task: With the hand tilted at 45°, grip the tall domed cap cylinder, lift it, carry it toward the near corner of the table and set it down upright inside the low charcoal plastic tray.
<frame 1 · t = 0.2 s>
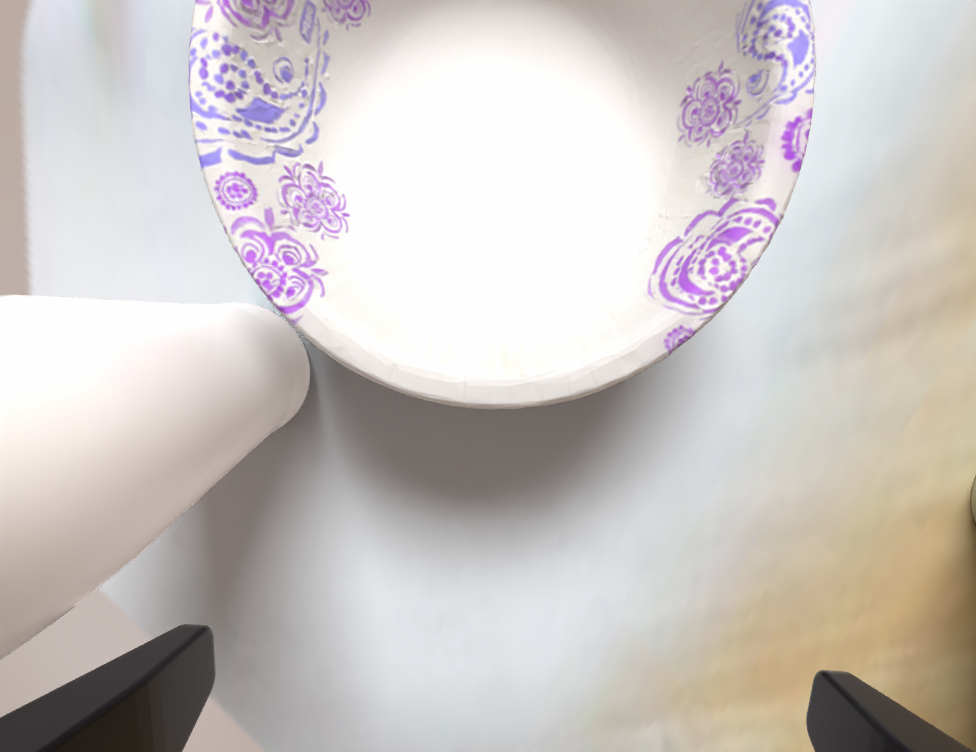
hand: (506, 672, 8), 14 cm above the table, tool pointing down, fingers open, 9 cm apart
white vase: (253, 366, 23), on the table
paper bowls: (502, 165, 21), on the table
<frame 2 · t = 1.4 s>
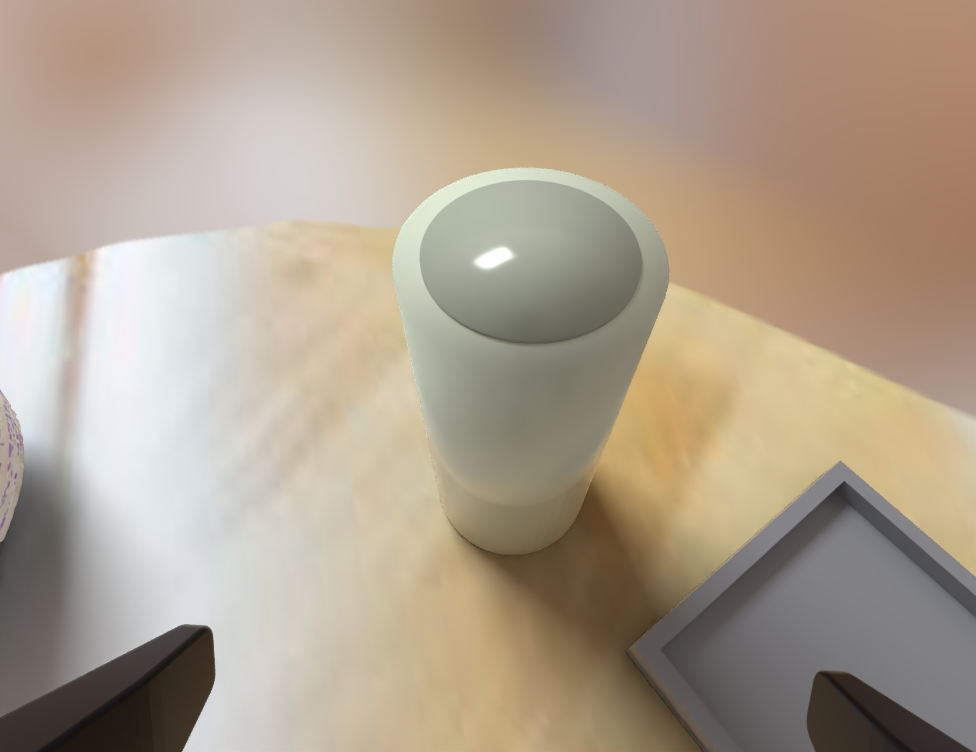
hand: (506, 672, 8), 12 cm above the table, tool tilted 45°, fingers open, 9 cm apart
tray: (859, 691, 19), on the table
domed cap cylinder: (511, 481, 23), on the table
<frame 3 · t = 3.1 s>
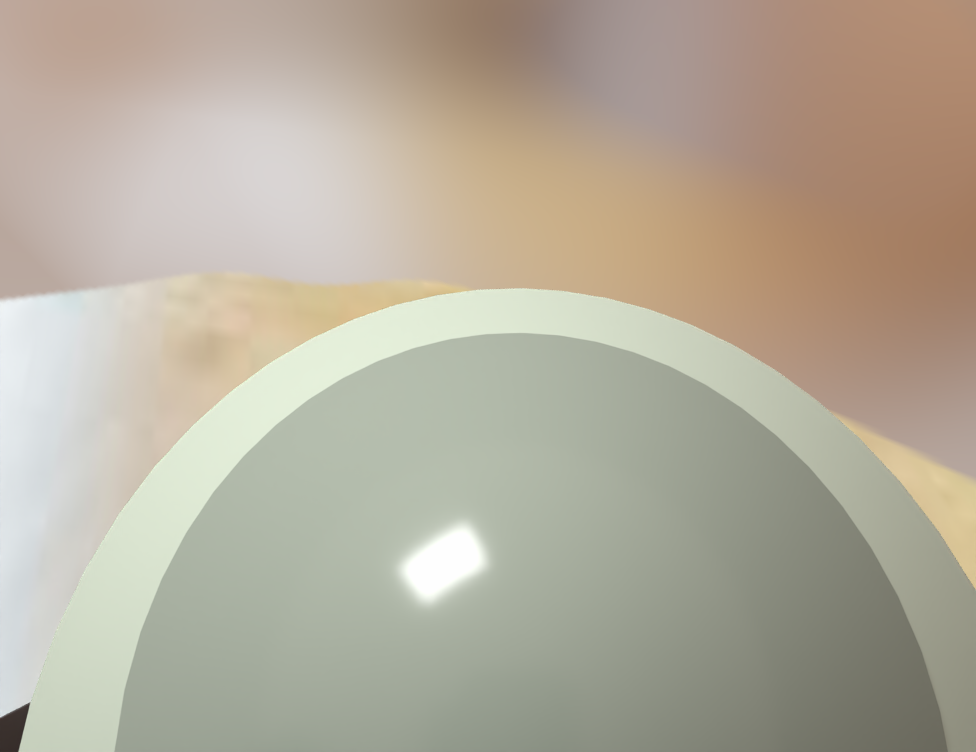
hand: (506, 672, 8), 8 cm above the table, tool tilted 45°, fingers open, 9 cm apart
domed cap cylinder: (498, 719, 14), on the table
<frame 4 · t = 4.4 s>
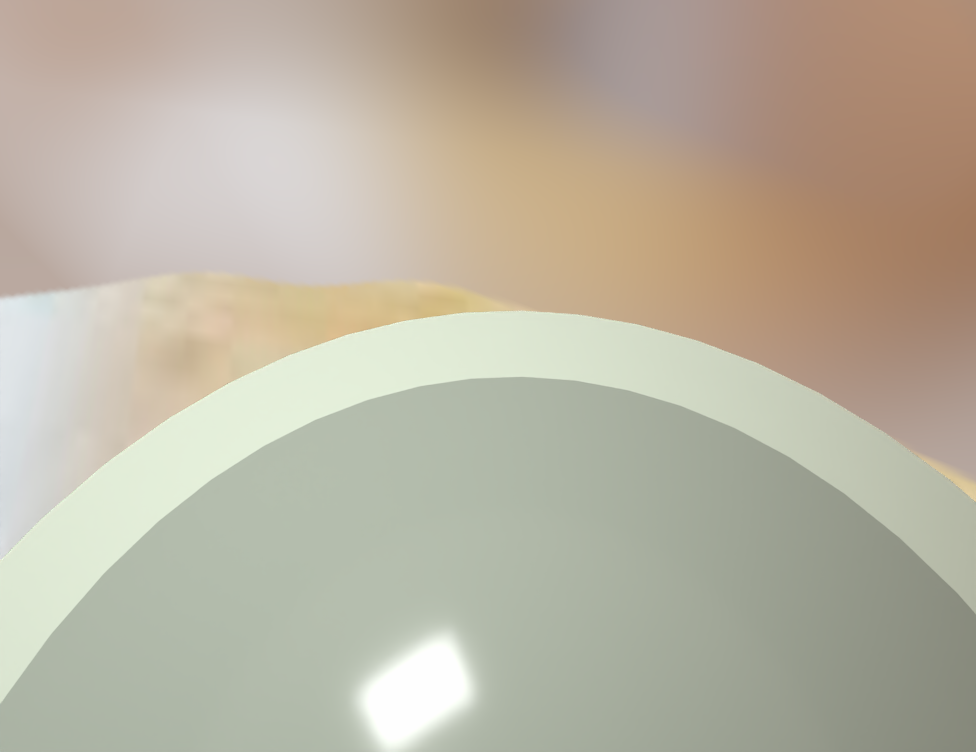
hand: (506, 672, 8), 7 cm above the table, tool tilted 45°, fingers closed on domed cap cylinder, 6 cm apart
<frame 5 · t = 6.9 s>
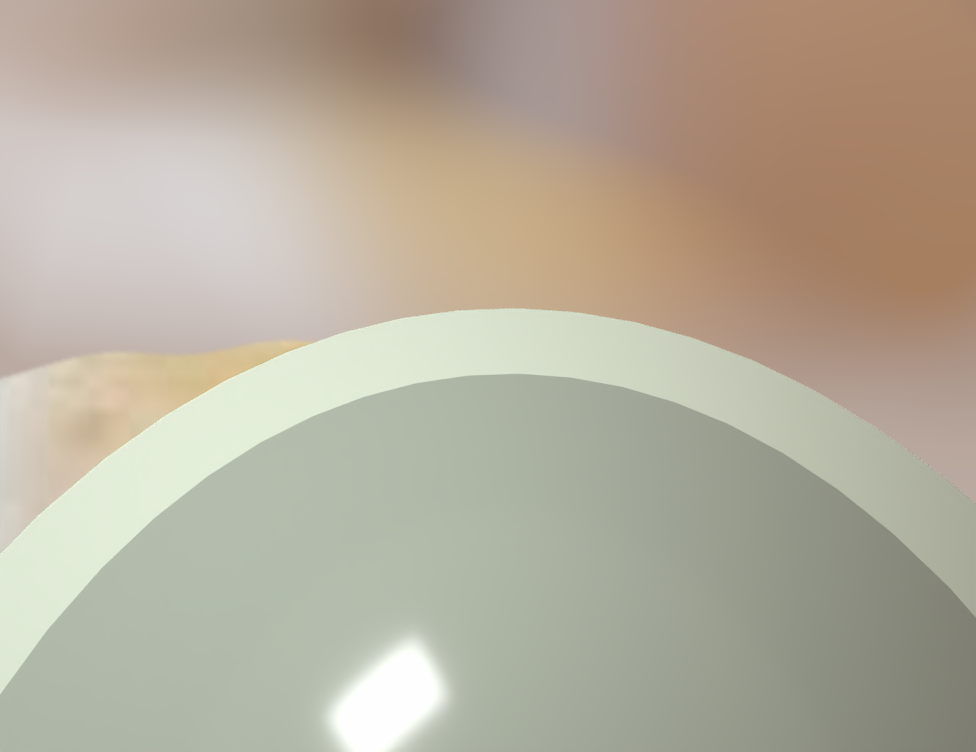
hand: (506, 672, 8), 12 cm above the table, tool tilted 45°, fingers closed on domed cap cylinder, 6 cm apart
when the fingers open (8 cm above the table, at t = 9.5 s): domed cap cylinder stays where it is, resting on tray.
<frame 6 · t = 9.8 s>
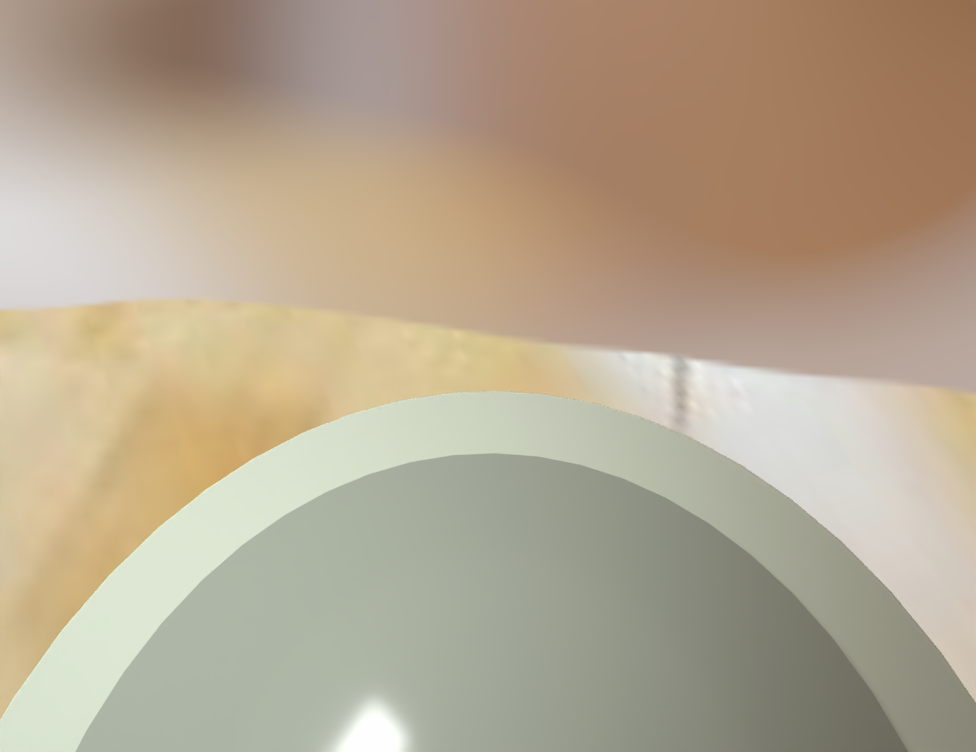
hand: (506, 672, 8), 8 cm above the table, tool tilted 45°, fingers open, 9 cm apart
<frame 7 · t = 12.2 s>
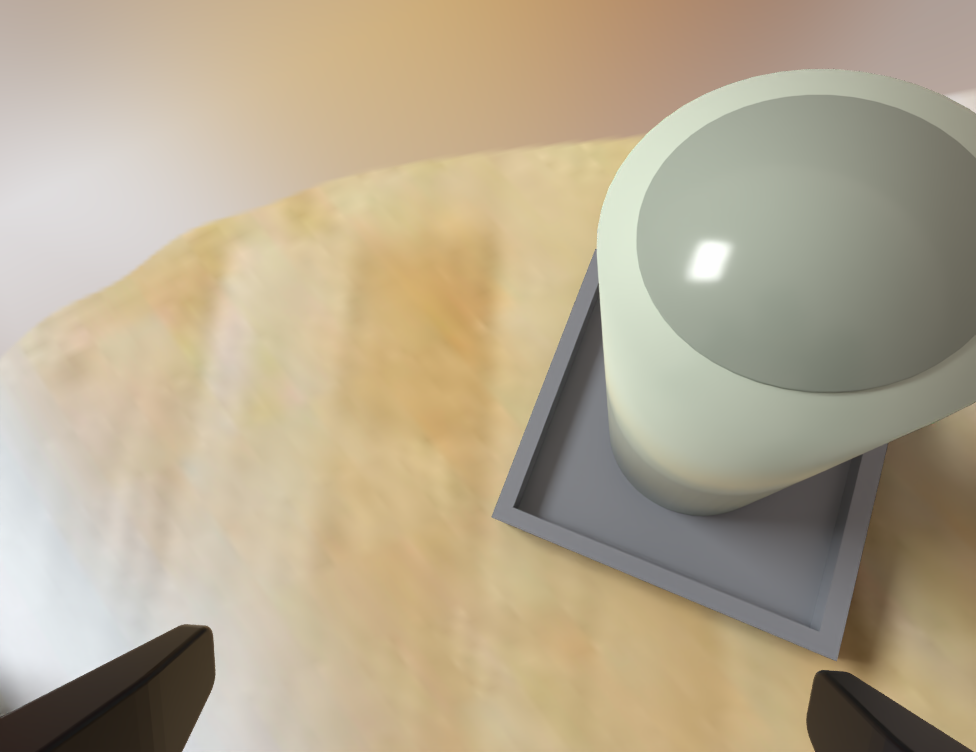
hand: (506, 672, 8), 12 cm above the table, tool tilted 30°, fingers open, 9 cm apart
tray: (692, 432, 21), on the table
domed cap cylinder: (694, 430, 20), point 1 cm above the table, touching tray
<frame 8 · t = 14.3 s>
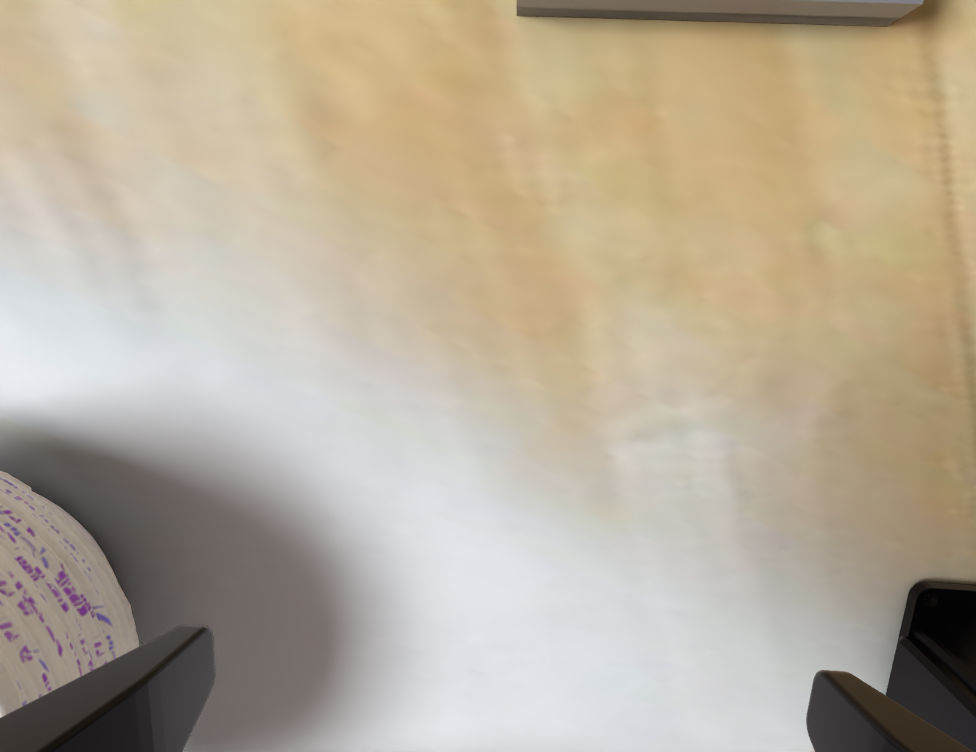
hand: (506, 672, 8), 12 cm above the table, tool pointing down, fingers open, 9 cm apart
paper bowls: (12, 587, 23), on the table
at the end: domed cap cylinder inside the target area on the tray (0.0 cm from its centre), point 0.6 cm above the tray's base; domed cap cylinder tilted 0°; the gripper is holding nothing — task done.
